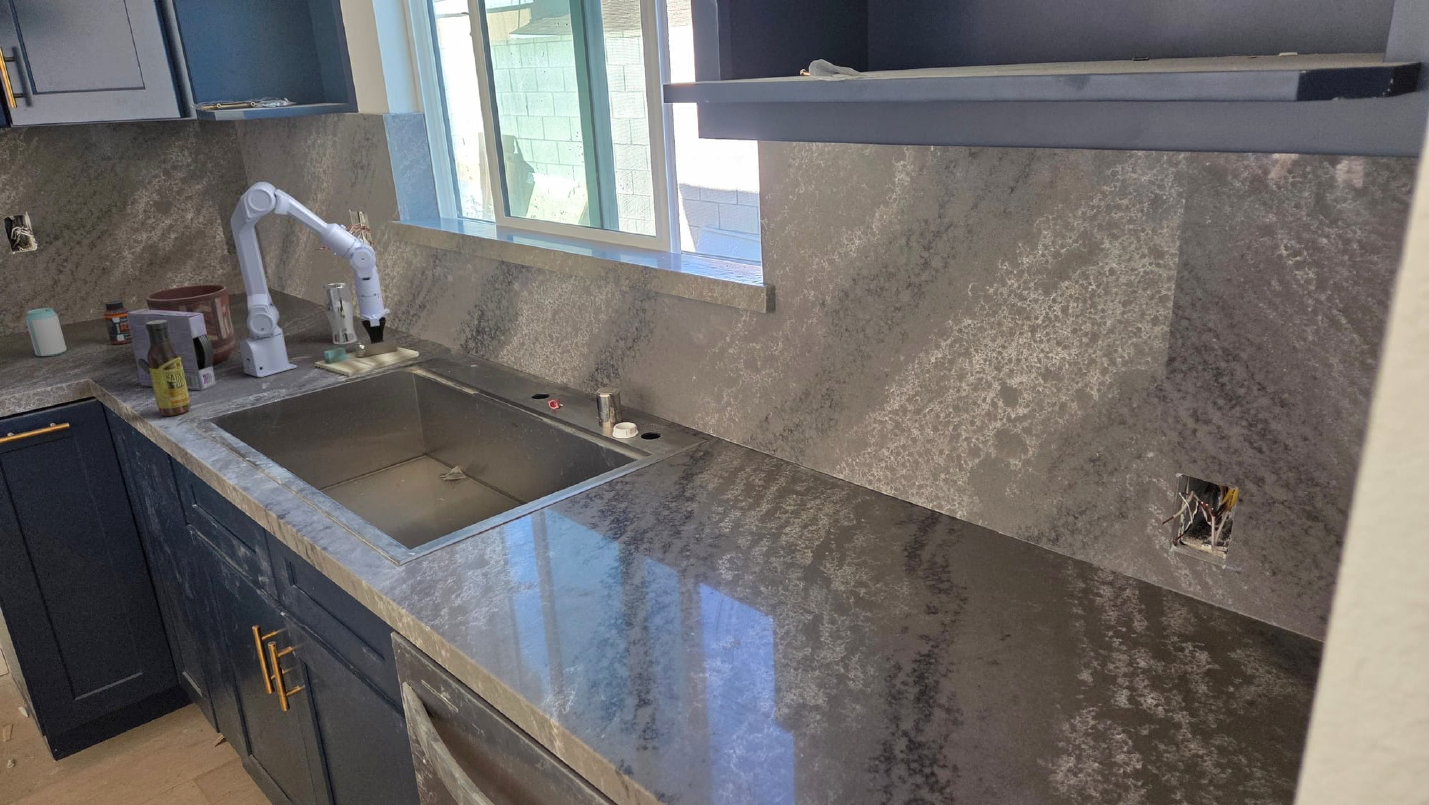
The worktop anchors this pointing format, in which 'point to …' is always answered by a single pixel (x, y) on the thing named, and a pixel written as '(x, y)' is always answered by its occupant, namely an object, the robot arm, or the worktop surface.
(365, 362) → the board
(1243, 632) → the worktop surface
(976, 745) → the worktop surface
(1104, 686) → the worktop surface
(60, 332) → the can
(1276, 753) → the worktop surface
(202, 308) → the pottery
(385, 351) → the swing bar
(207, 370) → the cake pan box
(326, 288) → the beer glass
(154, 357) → the sauce bottle
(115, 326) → the supplement bottle
